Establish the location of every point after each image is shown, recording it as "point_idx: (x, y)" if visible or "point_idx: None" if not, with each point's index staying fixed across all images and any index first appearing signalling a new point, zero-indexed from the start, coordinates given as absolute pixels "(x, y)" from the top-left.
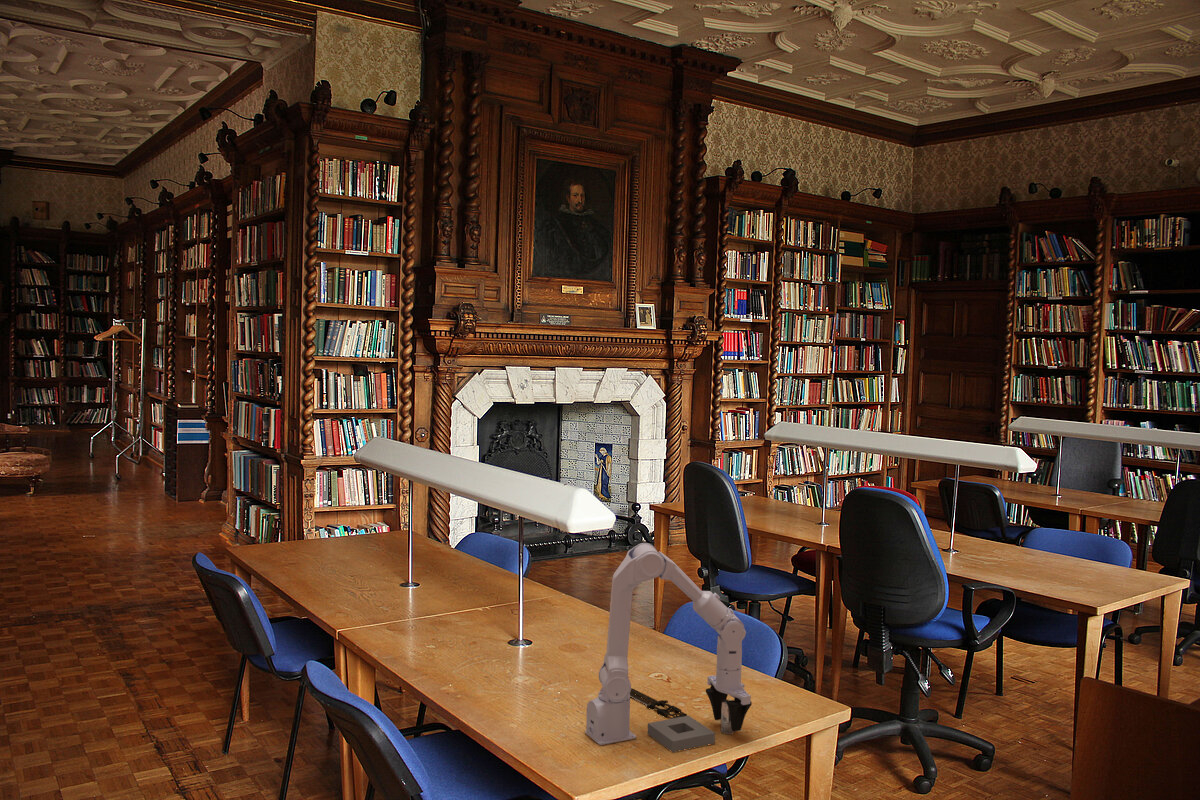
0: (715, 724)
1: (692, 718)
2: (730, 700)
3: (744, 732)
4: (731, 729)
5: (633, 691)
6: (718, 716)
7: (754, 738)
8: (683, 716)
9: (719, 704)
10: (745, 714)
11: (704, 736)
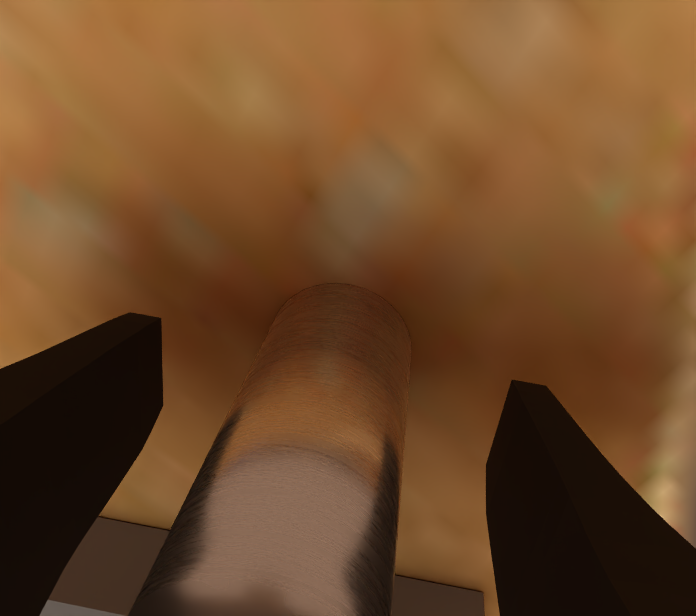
0: (124, 313)
1: (92, 611)
2: (203, 600)
3: (466, 208)
4: (408, 386)
5: None
6: (145, 406)
7: (674, 237)
8: None
9: (48, 501)
10: (686, 549)
11: None
